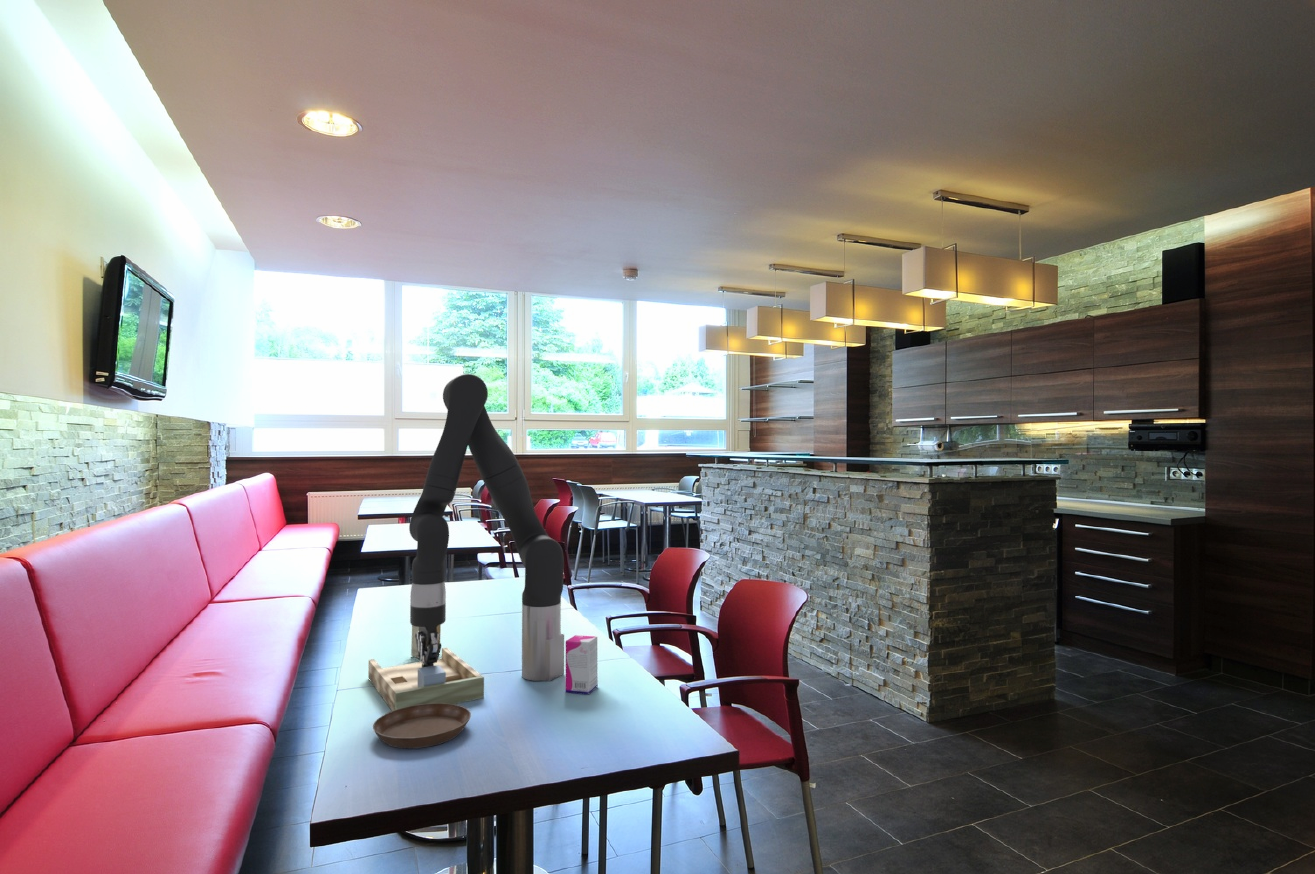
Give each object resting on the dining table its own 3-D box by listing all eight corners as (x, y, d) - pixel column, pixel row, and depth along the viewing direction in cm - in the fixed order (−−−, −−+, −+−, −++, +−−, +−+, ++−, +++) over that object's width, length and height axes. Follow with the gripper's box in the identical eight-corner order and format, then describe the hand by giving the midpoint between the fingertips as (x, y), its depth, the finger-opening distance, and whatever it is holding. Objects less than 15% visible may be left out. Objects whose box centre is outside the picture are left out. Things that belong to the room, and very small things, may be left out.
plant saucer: (374, 724, 138) (374, 708, 138) (466, 712, 144) (466, 697, 144) (371, 761, 121) (371, 743, 121) (475, 746, 128) (475, 729, 128)
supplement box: (598, 686, 159) (598, 635, 159) (588, 695, 153) (589, 642, 153) (574, 684, 160) (574, 634, 161) (564, 692, 155) (564, 640, 155)
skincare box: (420, 659, 179) (420, 611, 179) (410, 656, 182) (410, 609, 182) (441, 653, 184) (441, 607, 185) (431, 650, 187) (432, 605, 187)
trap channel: (483, 697, 151) (483, 677, 151) (395, 715, 141) (396, 693, 141) (446, 665, 174) (446, 647, 174) (368, 679, 164) (368, 659, 164)
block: (445, 693, 148) (445, 672, 149) (423, 697, 146) (424, 675, 146) (438, 685, 154) (438, 664, 154) (417, 689, 151) (417, 668, 151)
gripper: (453, 605, 152) (453, 685, 152) (436, 595, 163) (436, 669, 163) (418, 610, 148) (417, 692, 147) (403, 598, 159) (402, 675, 158)
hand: (427, 680), depth 155 cm, fingers closed
